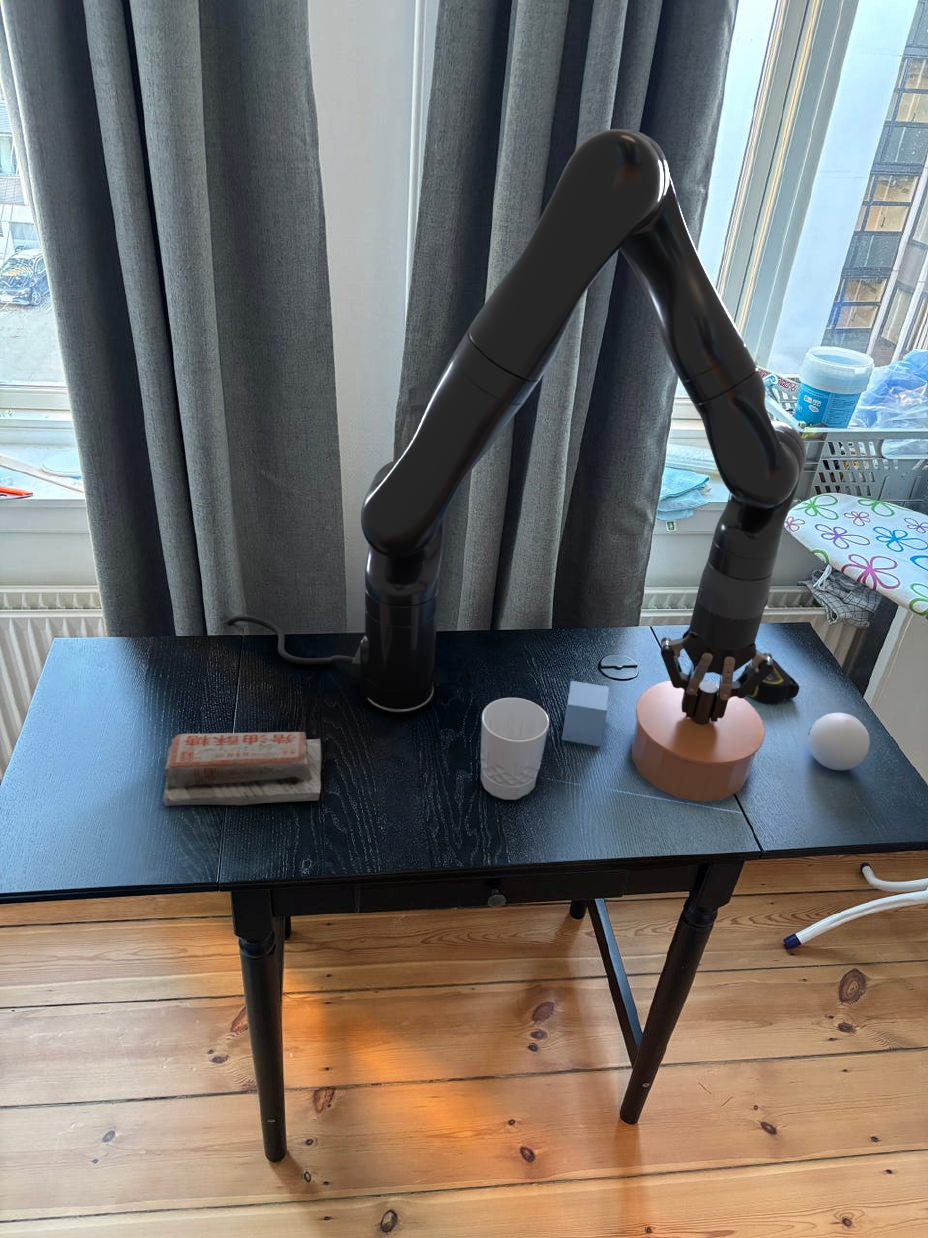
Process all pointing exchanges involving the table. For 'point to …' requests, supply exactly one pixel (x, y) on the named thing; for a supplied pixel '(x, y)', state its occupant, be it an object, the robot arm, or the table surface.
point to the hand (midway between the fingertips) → (700, 714)
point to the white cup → (512, 746)
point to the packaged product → (242, 769)
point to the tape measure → (775, 686)
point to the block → (585, 713)
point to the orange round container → (687, 772)
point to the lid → (699, 725)
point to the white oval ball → (838, 741)
